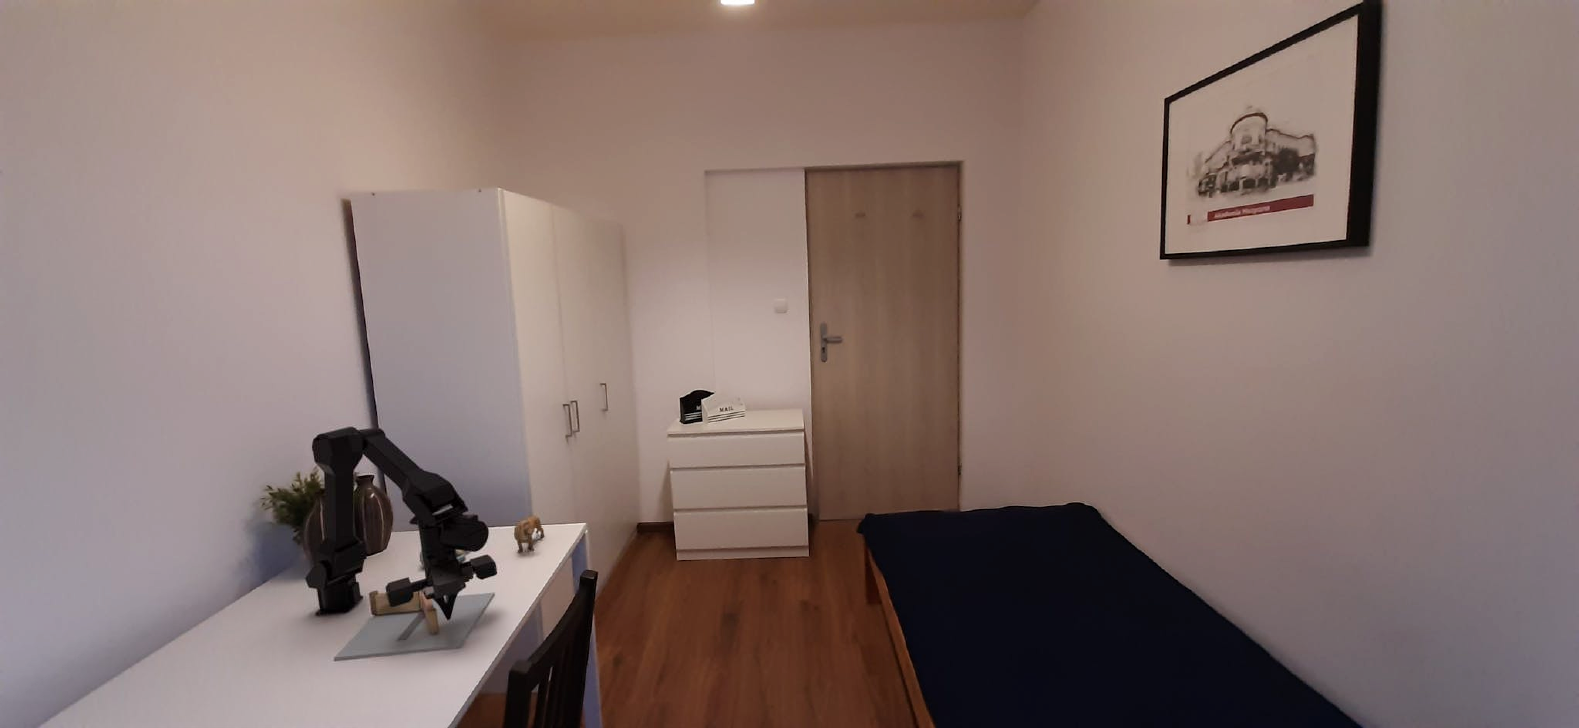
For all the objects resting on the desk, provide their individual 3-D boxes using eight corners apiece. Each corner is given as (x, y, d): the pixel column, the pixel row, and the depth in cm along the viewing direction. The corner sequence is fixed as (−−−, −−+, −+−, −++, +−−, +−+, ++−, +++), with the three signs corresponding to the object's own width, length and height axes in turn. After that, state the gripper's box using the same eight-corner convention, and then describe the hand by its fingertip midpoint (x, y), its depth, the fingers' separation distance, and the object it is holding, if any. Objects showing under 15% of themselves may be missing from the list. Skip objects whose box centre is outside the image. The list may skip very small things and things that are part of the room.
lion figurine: (535, 557, 157) (532, 522, 156) (513, 559, 156) (509, 524, 155) (546, 533, 172) (543, 501, 170) (525, 535, 171) (522, 503, 169)
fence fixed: (370, 615, 130) (367, 595, 130) (374, 611, 132) (371, 591, 131) (419, 610, 132) (416, 590, 131) (422, 606, 133) (420, 586, 132)
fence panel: (421, 608, 133) (419, 588, 132) (430, 605, 134) (427, 585, 133) (430, 635, 122) (427, 613, 122) (439, 632, 123) (437, 610, 123)
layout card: (334, 660, 117) (333, 657, 117) (387, 604, 136) (387, 601, 136) (460, 647, 119) (459, 644, 119) (494, 595, 139) (494, 592, 139)
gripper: (387, 575, 112) (399, 656, 114) (499, 544, 123) (508, 618, 125) (380, 554, 120) (391, 630, 123) (485, 527, 132) (494, 596, 134)
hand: (448, 619), depth 126 cm, fingers closed
